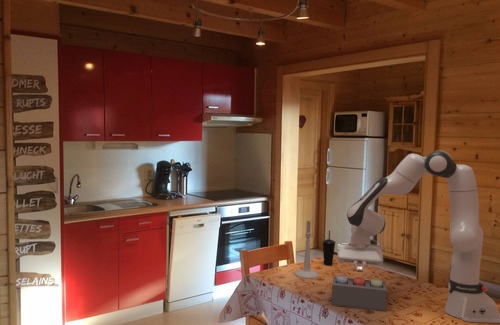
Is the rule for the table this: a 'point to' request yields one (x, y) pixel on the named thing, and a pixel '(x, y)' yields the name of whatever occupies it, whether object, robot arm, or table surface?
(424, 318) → the table surface
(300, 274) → the candlestick
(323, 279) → the table surface
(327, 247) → the drinking cup
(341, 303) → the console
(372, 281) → the green button
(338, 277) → the blue button
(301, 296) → the table surface
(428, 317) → the table surface
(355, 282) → the red button
